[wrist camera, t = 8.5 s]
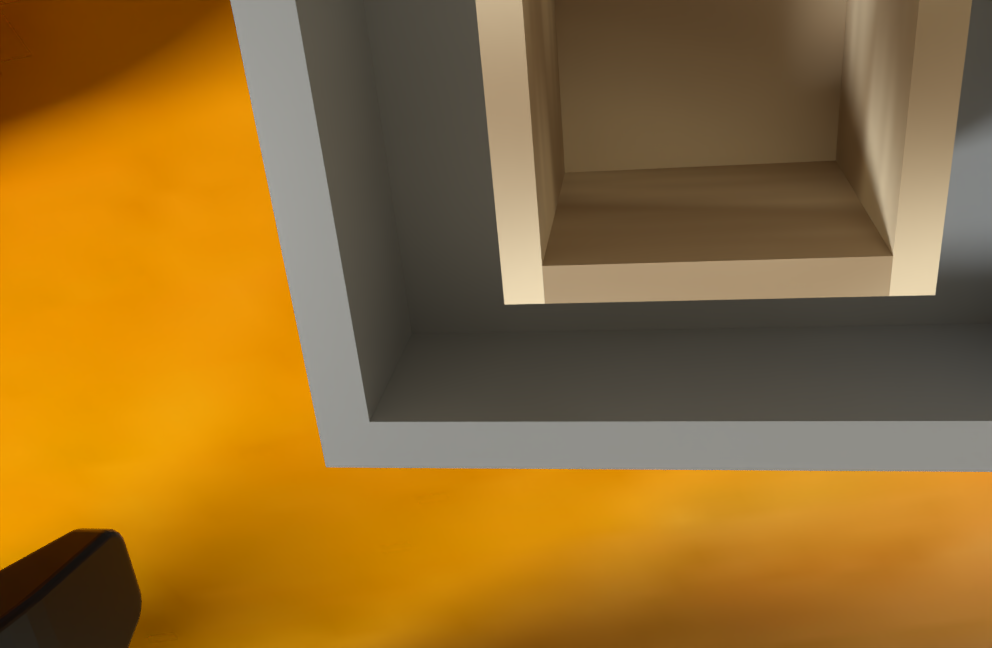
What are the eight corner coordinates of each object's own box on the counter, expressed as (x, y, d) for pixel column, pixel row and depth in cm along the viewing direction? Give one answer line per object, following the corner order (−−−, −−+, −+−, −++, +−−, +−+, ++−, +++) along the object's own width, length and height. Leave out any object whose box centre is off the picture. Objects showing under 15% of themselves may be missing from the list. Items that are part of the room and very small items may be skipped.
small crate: (861, 180, 17) (934, 294, 13) (538, 194, 18) (504, 304, 14) (892, -188, 15) (997, -203, 10) (512, -149, 16) (461, -146, 11)
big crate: (1047, 348, 19) (1147, 473, 15) (382, 357, 22) (326, 467, 18) (1215, -545, 13) (1450, -706, 9) (258, -399, 15) (132, -479, 12)
